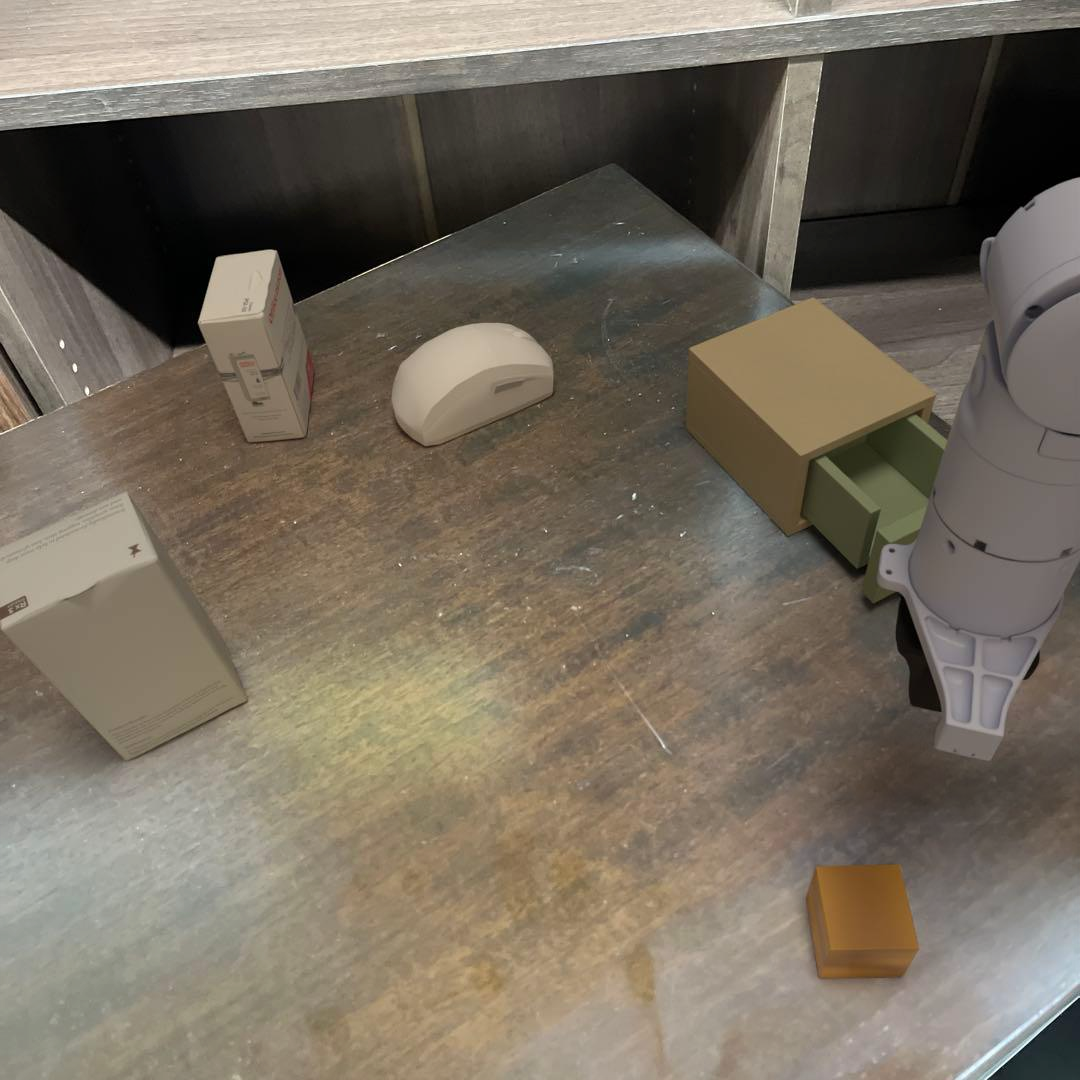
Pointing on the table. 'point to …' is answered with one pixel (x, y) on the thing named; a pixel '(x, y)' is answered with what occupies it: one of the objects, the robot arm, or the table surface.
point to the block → (861, 921)
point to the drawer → (874, 492)
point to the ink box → (258, 345)
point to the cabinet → (792, 400)
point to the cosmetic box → (116, 627)
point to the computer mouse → (469, 381)
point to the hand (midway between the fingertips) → (933, 698)
